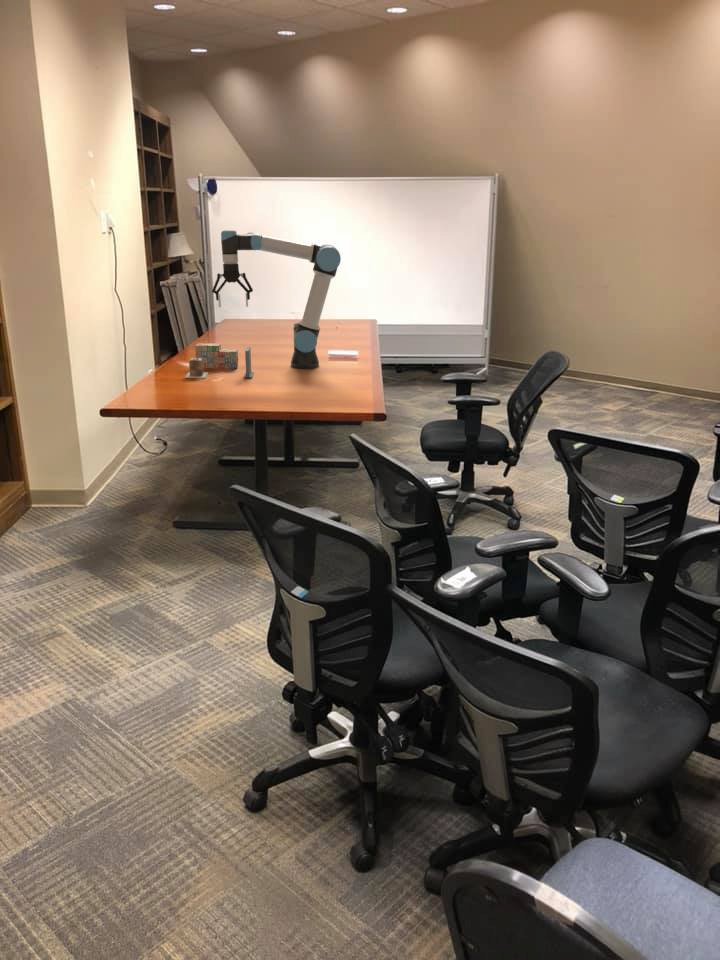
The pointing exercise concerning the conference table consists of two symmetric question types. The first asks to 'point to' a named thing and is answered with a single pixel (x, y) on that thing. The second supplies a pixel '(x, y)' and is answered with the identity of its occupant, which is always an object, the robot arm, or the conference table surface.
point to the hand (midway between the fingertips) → (233, 306)
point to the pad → (197, 376)
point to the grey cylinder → (196, 367)
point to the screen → (248, 364)
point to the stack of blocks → (217, 356)
